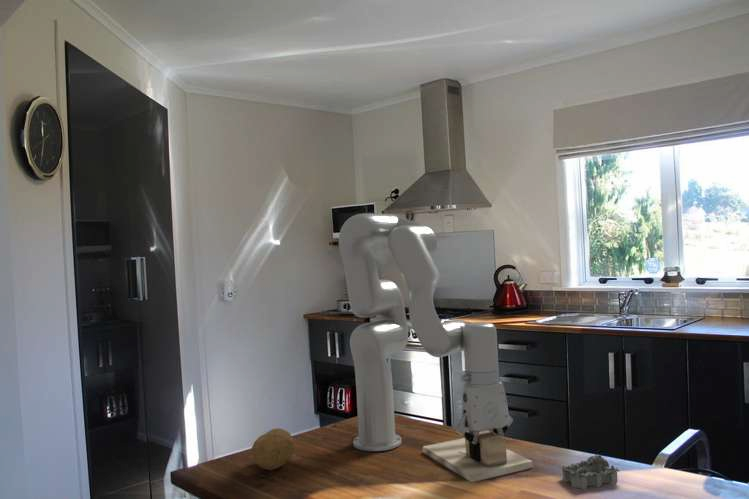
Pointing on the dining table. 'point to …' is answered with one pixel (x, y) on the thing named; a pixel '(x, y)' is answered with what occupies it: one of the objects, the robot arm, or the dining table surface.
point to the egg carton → (589, 473)
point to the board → (473, 461)
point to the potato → (273, 449)
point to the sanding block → (490, 448)
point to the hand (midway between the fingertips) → (486, 456)
